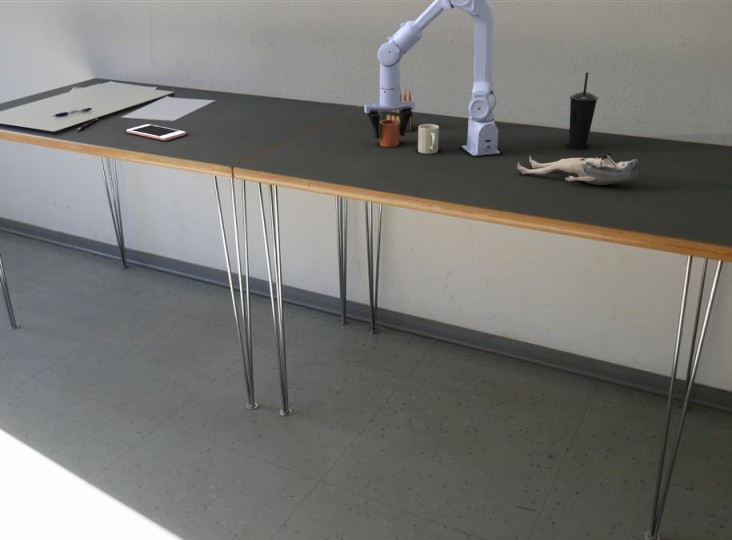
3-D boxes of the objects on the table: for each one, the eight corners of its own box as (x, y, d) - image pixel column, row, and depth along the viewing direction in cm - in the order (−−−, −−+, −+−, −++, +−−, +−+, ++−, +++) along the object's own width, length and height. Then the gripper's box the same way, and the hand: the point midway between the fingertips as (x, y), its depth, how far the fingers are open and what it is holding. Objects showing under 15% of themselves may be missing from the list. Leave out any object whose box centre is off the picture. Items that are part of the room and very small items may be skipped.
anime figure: (531, 148, 212) (646, 149, 195) (532, 176, 216) (644, 180, 198) (515, 157, 206) (631, 159, 188) (516, 185, 209) (631, 190, 192)
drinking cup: (592, 150, 226) (602, 75, 215) (564, 149, 227) (573, 75, 217) (590, 143, 232) (600, 70, 222) (563, 142, 234) (572, 69, 223)
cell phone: (164, 141, 242) (164, 138, 242) (126, 132, 252) (125, 129, 251) (186, 134, 248) (186, 131, 248) (148, 126, 258) (147, 123, 257)
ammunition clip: (412, 130, 249) (413, 89, 242) (409, 131, 247) (410, 90, 241) (384, 125, 254) (384, 85, 248) (381, 126, 253) (381, 86, 247)
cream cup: (415, 149, 230) (415, 124, 227) (434, 147, 232) (435, 123, 228) (424, 156, 224) (425, 131, 220) (443, 154, 225) (444, 130, 222)
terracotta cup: (401, 146, 233) (401, 123, 230) (382, 147, 232) (382, 125, 229) (393, 139, 240) (393, 117, 237) (375, 140, 239) (375, 118, 235)
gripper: (409, 83, 232) (408, 131, 239) (361, 86, 229) (361, 135, 236) (417, 88, 226) (416, 136, 233) (367, 91, 223) (368, 141, 230)
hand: (389, 136), depth 234 cm, fingers open, 7 cm apart
